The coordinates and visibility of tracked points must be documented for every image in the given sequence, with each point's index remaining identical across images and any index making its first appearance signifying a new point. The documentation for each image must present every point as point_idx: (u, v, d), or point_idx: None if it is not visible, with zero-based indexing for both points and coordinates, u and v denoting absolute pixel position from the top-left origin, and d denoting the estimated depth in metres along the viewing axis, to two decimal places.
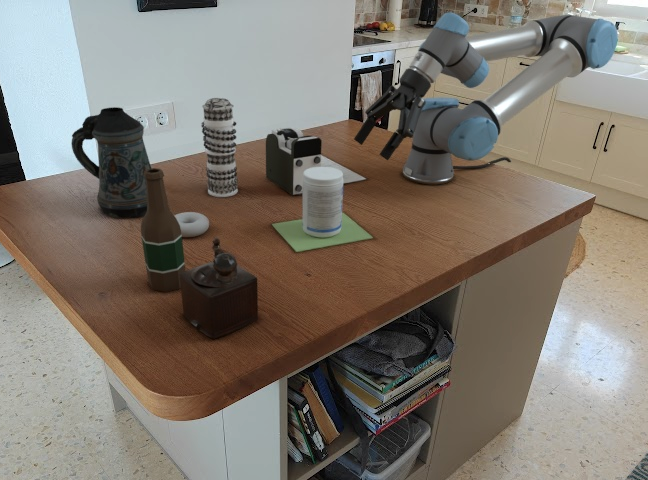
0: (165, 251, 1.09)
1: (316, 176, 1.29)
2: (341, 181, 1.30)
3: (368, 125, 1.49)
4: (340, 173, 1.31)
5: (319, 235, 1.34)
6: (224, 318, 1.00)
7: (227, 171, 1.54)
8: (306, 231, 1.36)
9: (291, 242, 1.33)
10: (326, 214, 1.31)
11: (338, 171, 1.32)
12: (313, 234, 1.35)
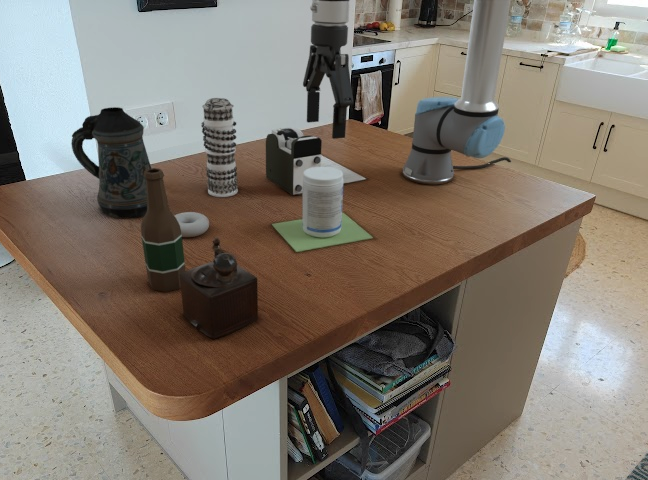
0: (165, 251, 1.09)
1: (316, 176, 1.29)
2: (341, 181, 1.30)
3: (312, 99, 1.28)
4: (340, 173, 1.31)
5: (319, 235, 1.34)
6: (224, 318, 1.00)
7: (227, 171, 1.54)
8: (306, 231, 1.36)
9: (291, 242, 1.33)
10: (326, 214, 1.31)
11: (338, 171, 1.32)
12: (313, 234, 1.35)
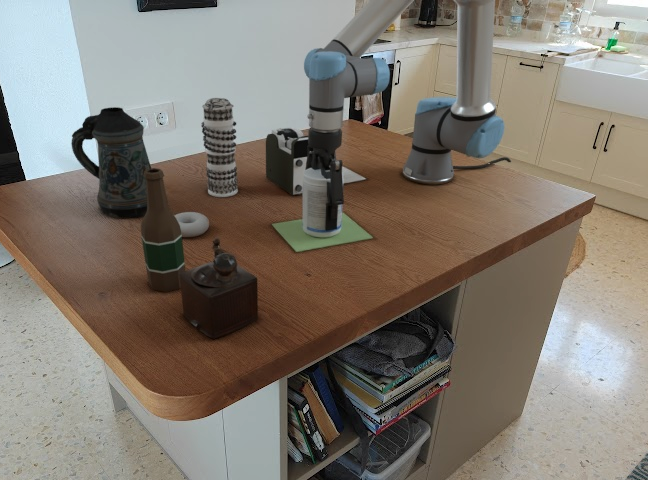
0: (165, 251, 1.09)
1: (316, 176, 1.29)
2: None
3: None
4: None
5: (319, 235, 1.34)
6: (224, 318, 1.00)
7: (227, 171, 1.54)
8: (306, 231, 1.36)
9: (291, 242, 1.33)
10: None
11: None
12: (313, 234, 1.35)
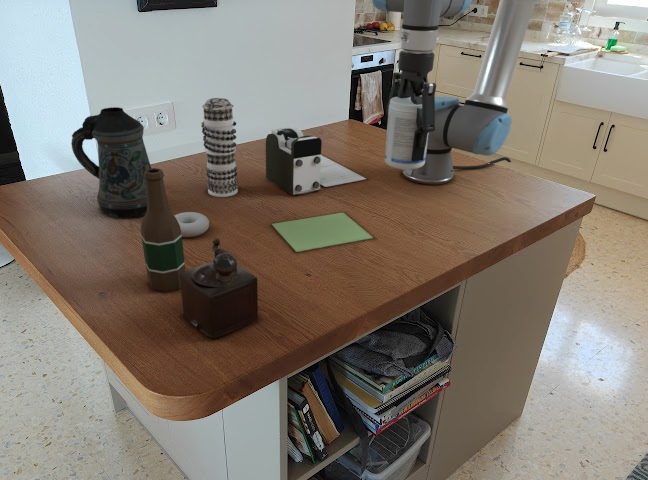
0: (165, 251, 1.09)
1: (405, 103, 1.24)
2: None
3: None
4: None
5: (404, 167, 1.30)
6: (224, 318, 1.00)
7: (227, 171, 1.54)
8: (390, 163, 1.31)
9: (291, 242, 1.33)
10: None
11: None
12: (398, 166, 1.30)
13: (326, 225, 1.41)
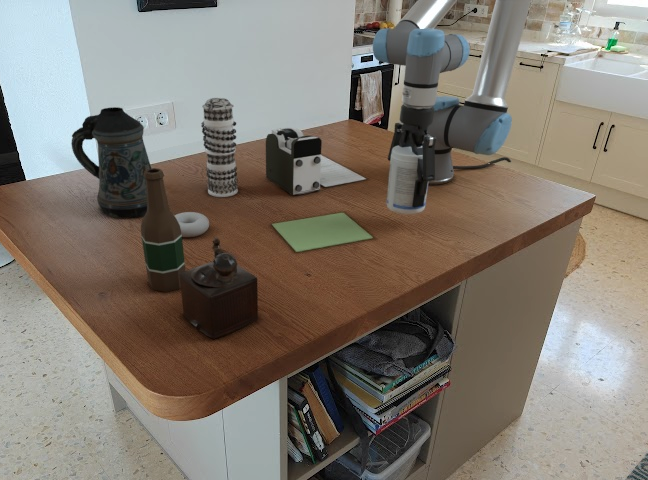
0: (165, 251, 1.09)
1: (406, 153, 1.31)
2: None
3: None
4: None
5: (405, 212, 1.36)
6: (224, 318, 1.00)
7: (227, 171, 1.54)
8: (392, 208, 1.38)
9: (291, 242, 1.33)
10: None
11: None
12: (399, 211, 1.36)
13: (326, 225, 1.41)
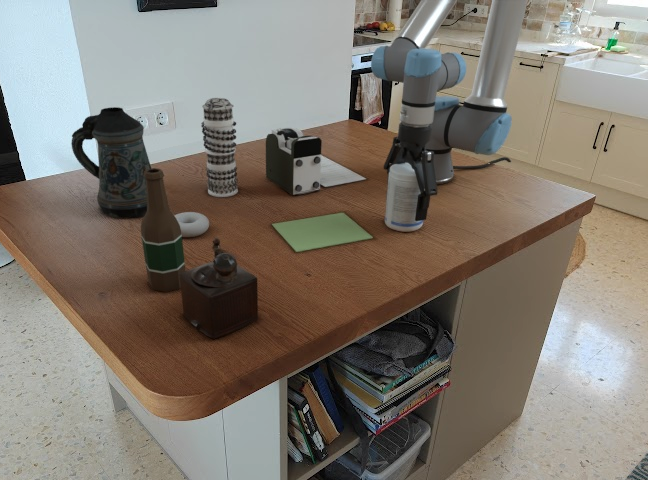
0: (165, 251, 1.09)
1: (404, 172, 1.33)
2: None
3: None
4: None
5: (403, 229, 1.39)
6: (224, 318, 1.00)
7: (227, 171, 1.54)
8: (390, 225, 1.40)
9: (291, 242, 1.33)
10: (412, 208, 1.36)
11: None
12: (397, 228, 1.39)
13: (326, 225, 1.41)
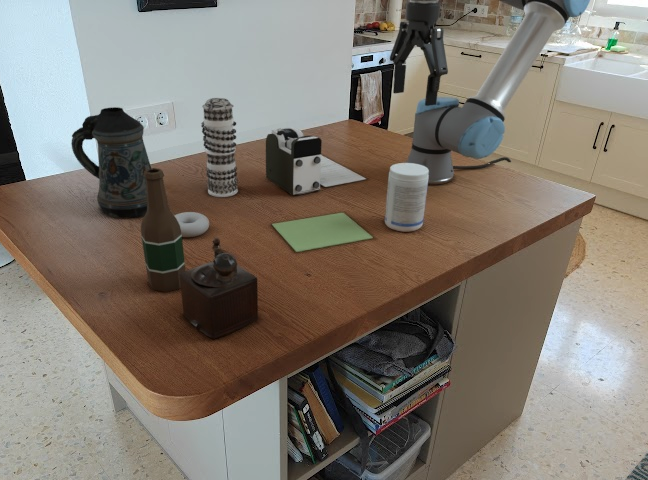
0: (165, 251, 1.09)
1: (404, 172, 1.33)
2: (427, 177, 1.34)
3: (399, 72, 1.41)
4: (426, 169, 1.35)
5: (403, 229, 1.39)
6: (224, 318, 1.00)
7: (227, 171, 1.54)
8: (390, 225, 1.40)
9: (291, 242, 1.33)
10: (412, 208, 1.36)
11: (423, 167, 1.36)
12: (397, 228, 1.39)
13: (326, 225, 1.41)
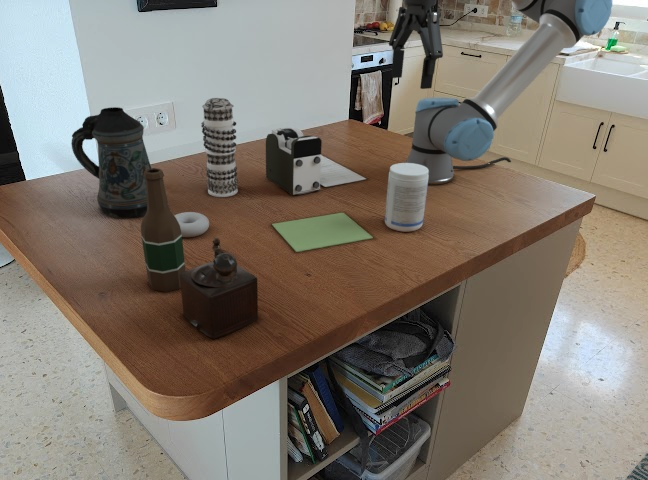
0: (165, 251, 1.09)
1: (404, 172, 1.33)
2: (427, 177, 1.34)
3: (398, 57, 1.44)
4: (426, 169, 1.35)
5: (403, 229, 1.39)
6: (224, 318, 1.00)
7: (227, 171, 1.54)
8: (390, 225, 1.40)
9: (291, 242, 1.33)
10: (412, 208, 1.36)
11: (423, 167, 1.36)
12: (397, 228, 1.39)
13: (326, 225, 1.41)
